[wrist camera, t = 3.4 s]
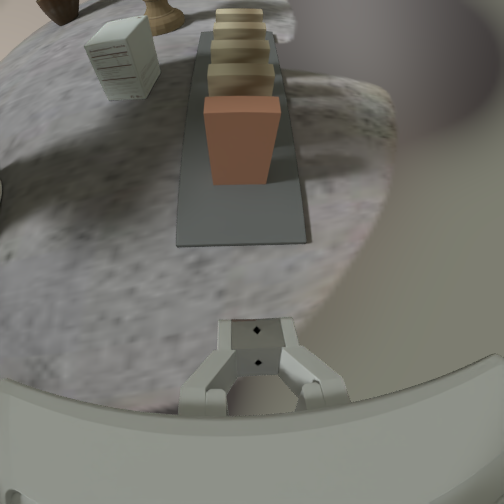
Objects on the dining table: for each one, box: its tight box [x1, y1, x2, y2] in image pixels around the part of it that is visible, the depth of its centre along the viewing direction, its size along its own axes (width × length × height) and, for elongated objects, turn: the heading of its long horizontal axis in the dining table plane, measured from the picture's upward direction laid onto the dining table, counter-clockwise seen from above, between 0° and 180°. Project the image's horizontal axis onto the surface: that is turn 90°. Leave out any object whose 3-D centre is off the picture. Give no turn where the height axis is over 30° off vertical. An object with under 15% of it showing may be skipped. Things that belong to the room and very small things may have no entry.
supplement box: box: [84, 15, 161, 101], centre depth 29 cm, size 7×7×13 cm
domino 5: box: [203, 96, 281, 185], centre depth 25 cm, size 6×2×12 cm, turn 92°
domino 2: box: [213, 22, 266, 40], centre depth 29 cm, size 6×2×12 cm, turn 93°
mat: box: [176, 31, 306, 247], centre depth 35 cm, size 14×44×1 cm, turn 3°
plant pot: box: [36, 0, 79, 26], centre depth 38 cm, size 15×15×16 cm
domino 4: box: [207, 63, 275, 97], centre depth 26 cm, size 6×2×12 cm, turn 92°
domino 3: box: [211, 40, 270, 64], centre depth 28 cm, size 6×2×12 cm, turn 93°
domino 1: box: [216, 9, 263, 23], centre depth 30 cm, size 6×2×12 cm, turn 93°
